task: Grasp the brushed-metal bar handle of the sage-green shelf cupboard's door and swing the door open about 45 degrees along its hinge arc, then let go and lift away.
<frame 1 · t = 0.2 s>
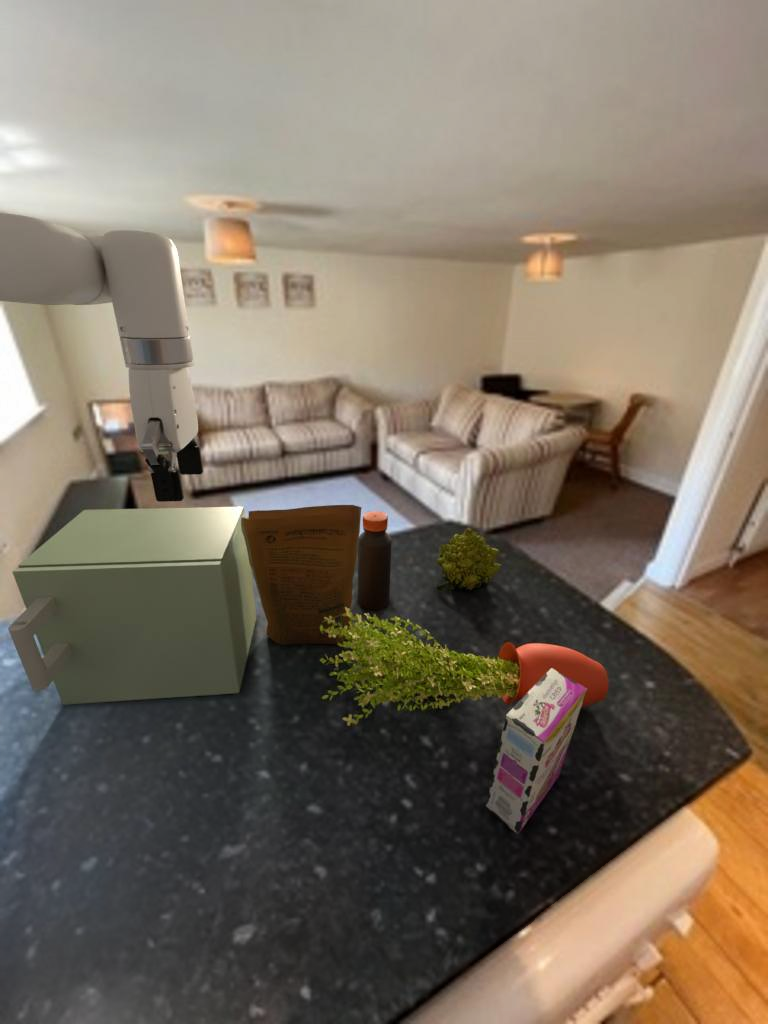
hand: (181, 486, 61), 34 cm above the worktop, tool pointing down, fingers open, 9 cm apart
pancake mix bag: (310, 639, 84), on the worktop
potted plant: (457, 691, 74), on the worktop
cabinet: (173, 653, 80), on the worktop
door: (128, 653, 62), point 12 cm above the worktop, hinge at 0.0°
bottle: (373, 601, 95), on the worktop
vegetable: (465, 581, 103), on the worktop
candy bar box: (524, 792, 59), on the worktop
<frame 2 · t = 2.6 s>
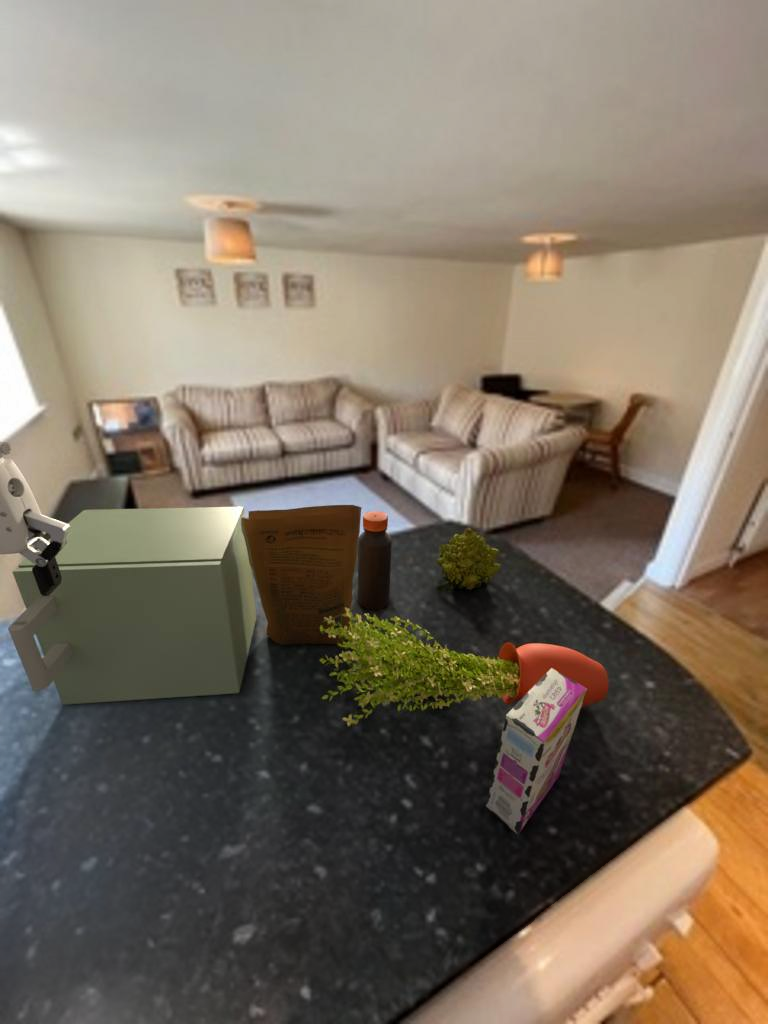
hand: (8, 591, 53), 25 cm above the worktop, tool pointing down, fingers open, 9 cm apart
nothing on the worktop moved.
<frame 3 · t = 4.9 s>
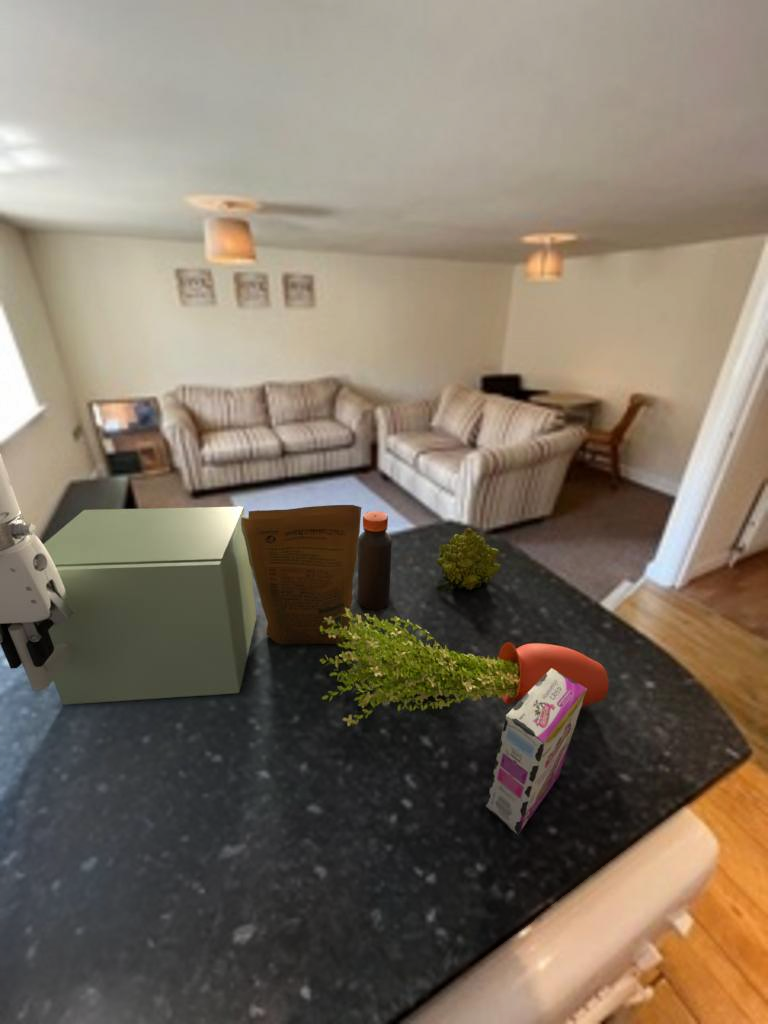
hand: (33, 659, 58), 14 cm above the worktop, tool pointing down, fingers closed on door, 2 cm apart
door: (128, 653, 62), point 12 cm above the worktop, hinge at 0.0°, touching gripper
everything else where it was.
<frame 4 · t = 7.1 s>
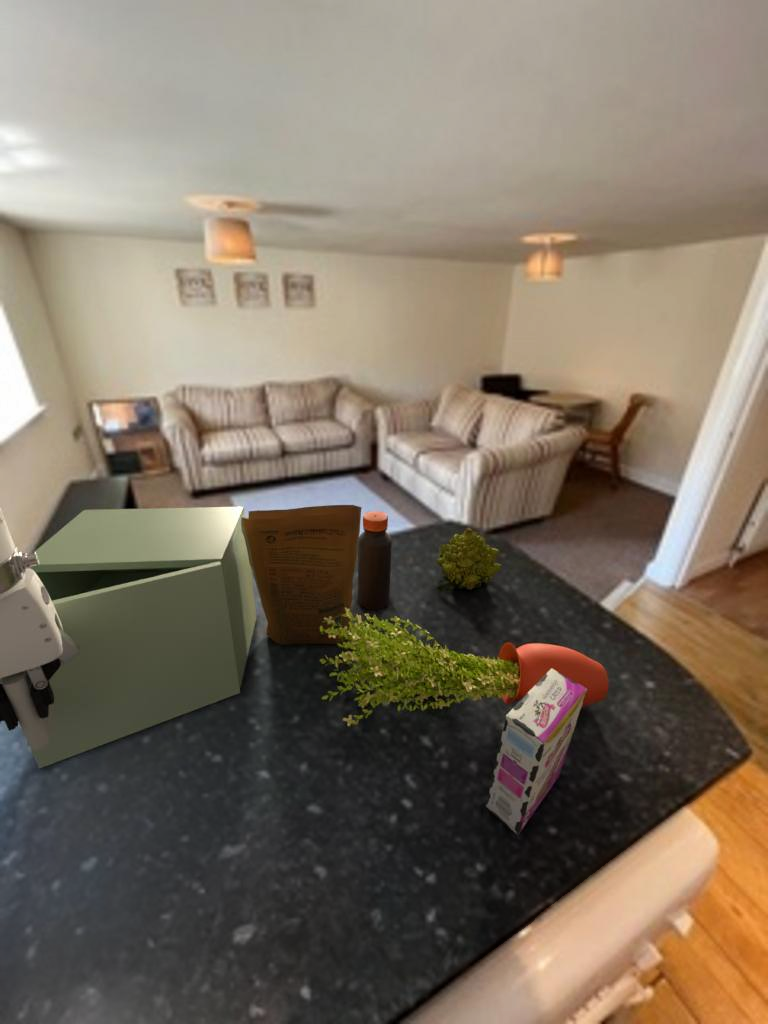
hand: (29, 713, 50), 14 cm above the worktop, tool pointing down, fingers closed on door, 2 cm apart
door: (133, 679, 58), point 12 cm above the worktop, hinge at 24.1°, touching gripper
everything else where it was.
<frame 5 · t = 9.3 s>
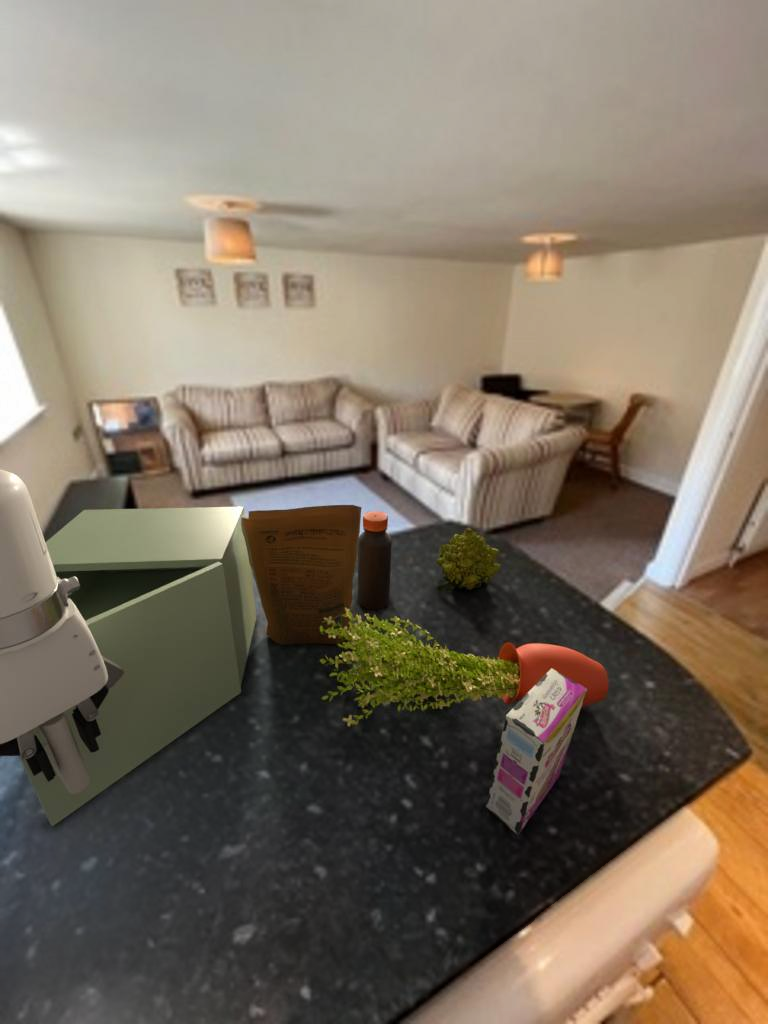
hand: (68, 756, 46), 14 cm above the worktop, tool pointing down, fingers open, 3 cm apart
door: (155, 697, 56), point 12 cm above the worktop, hinge at 45.3°
everything else where it was.
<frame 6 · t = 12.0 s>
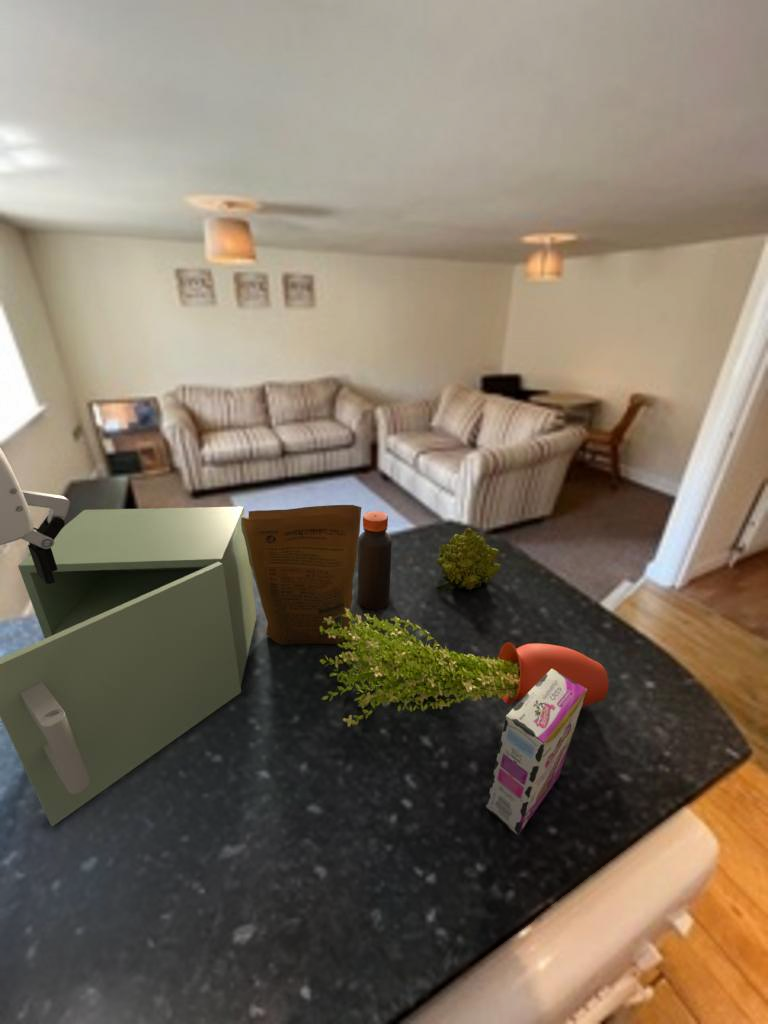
nothing on the worktop moved.
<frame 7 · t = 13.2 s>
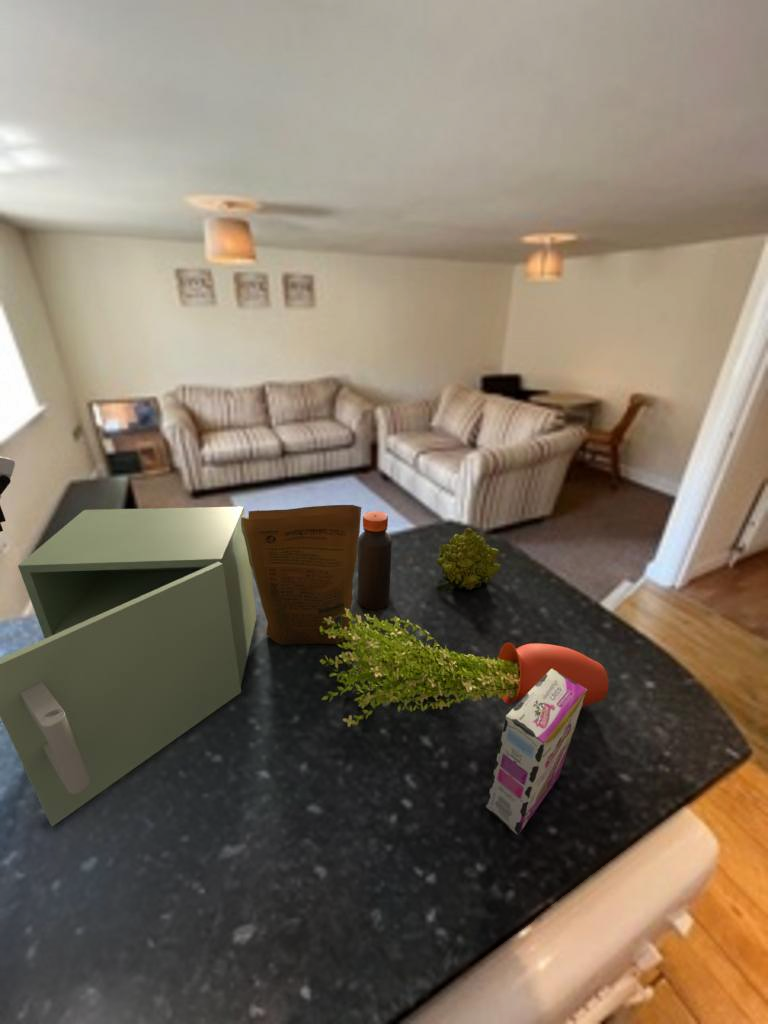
nothing on the worktop moved.
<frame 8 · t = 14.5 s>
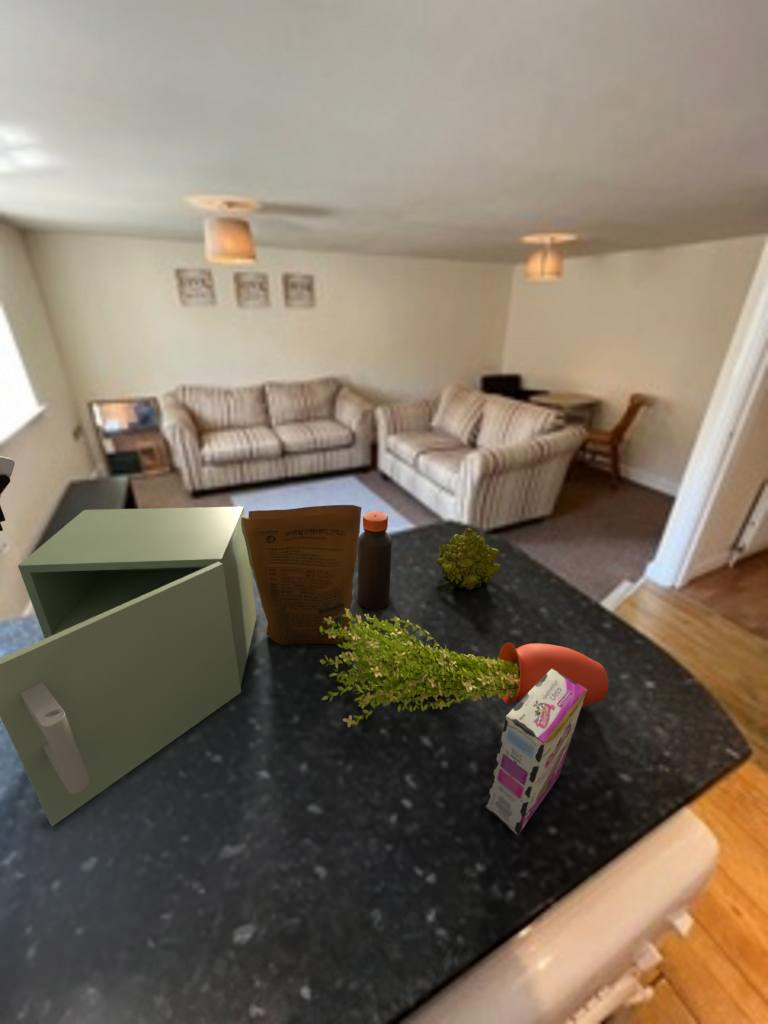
nothing on the worktop moved.
at the end: door at +45° (first picture: +0°); the gripper is holding nothing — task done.
